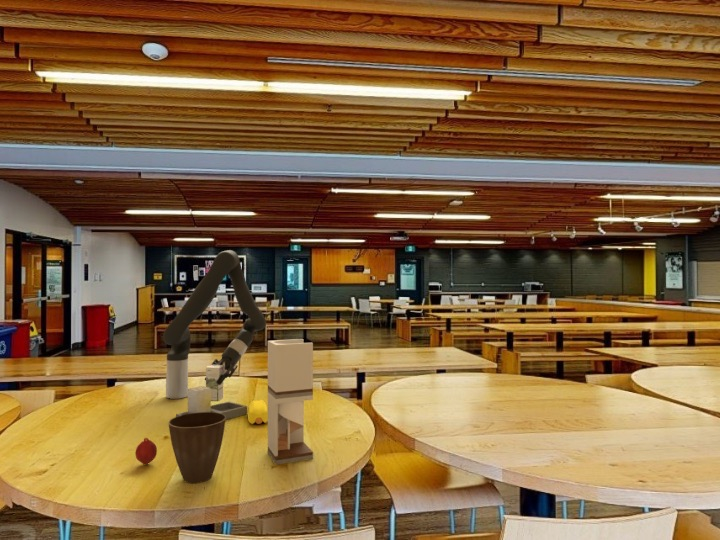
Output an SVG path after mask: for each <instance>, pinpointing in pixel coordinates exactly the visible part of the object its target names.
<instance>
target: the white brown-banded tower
mask: <svg viewBox="0 0 720 540" xmlns="http://www.w3.org/2000/svg"><path fill="white" fill-rule="evenodd" d="M313 400H314V343H313V342H304V339H303V338H293V339H277V340H276V339H275V340H267V410H268V421H267V453H268V456H269V457H270V458H271V460H272V462H273V463H274V465H276V464H277V465H282V464H287V463H288V464H289V463H296V462H301V460H302V461H308V460H313V459H314V452H313V450H312V449H311V448H310V447H309V446H308V445H307V444H306V442H305V441H304V438H305V437H304V436H305V434H304V433H305V432H304V427H305V426H304V424H305V423H304V419H305V418H304V410H305V409H304V406H305V405H304V402H306V401H313ZM307 459H308V460H307Z"/></svg>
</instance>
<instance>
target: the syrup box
mask: <svg viewBox="0 0 720 540" xmlns="http://www.w3.org/2000/svg"><path fill="white" fill-rule="evenodd" d="M222 367H223V365H211V364H209V365H207V366H206V367H205V377H206V381H205V387H208V388H211V402H220V401H221V400H223V399H224V381H223V382H222V383H221V385H218V384H217V383H216V381H217V380H218V379H219V377H220V376H221V375H222V372H223V371H222Z"/></svg>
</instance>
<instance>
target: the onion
mask: <svg viewBox="0 0 720 540" xmlns="http://www.w3.org/2000/svg"><path fill="white" fill-rule="evenodd" d="M157 453H158V449H157V445H156V444H155V443H154V442H153V441H152V440H151V439H149V438H148V437H144V438H143V440H142V441H141V442H140V443H138V445H137V446H136V449H135V458H136V459H137V461H138V462H140V463H142V464H143V465H144V464H147V465H149V464H150V463H152V462H153V460H154V459H155V458H156V456H157ZM148 463H149V464H148Z"/></svg>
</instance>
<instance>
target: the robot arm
mask: <svg viewBox="0 0 720 540" xmlns="http://www.w3.org/2000/svg"><path fill="white" fill-rule="evenodd" d="M243 272H244V271H243V269H242V266H241V261H240V257H239V255H238V254H237V252H236V251H234V250H231V249H229V250H228V249H227V250H224V251H223V250H222V251H221V252H219V253H218V254H217V255H216V256H215V258H214V261H213V262H212V264H211V265H210V268H209V269H208V271H207V273H206V274H205V276H203V278H202V279H201V281H200V282H199V283H198V285H197V286H196V287H195V288H194V290H193V291H192V293H191V294H190V295H189V297H188V299H187V300H186V301H185V303H184V304H183V306H182V307H181V309H180V310H179V312H178V314H177V315H176V316H175V317H174V319H172V321H171V322H169V323H170V324H168V326H166V328H165V330H164V331H163V337H162V338H163V341H164V343H165V344H166V345H168V346H171V349H170V350H169V351H168V352H167V354H166V376H165V397H166V399H169V398H170V399H171V400H176V399H177V400H178V399H183V398H184V399H185V398H188V389H189V354H190V351H191V331H190V328H189V327H190V325H191V324H192V323H193V322H194V321H195V320H196V319H197V318H198V317H200V315H202V314H203V313H205V311H206V310H207V309H208V307H209V306H210V305H211V303H212V302H213V301H214V298H215V297H216V294H217V292H218V289H219V287H220V285H221V283H222V281H223V280H224V279H225V278H226V276H227V275H228V276H229V278H230V281H231V284H232V287H233V292H234V296H235V298H236V301H237V304H238V306H239V309H240V311H241V312H242V313H243V314H244V315H247V317H248V318H247V319H246V320H245V322H243V324H242V326H241V329H240V331H239V332H238V333H237V335H236V336H235V337H234V339H233V340H232V341H231V342H230V343H229V344H228V346H227V347H226V348H225V349H224V351H223V353H222V354H221V359H220V360H218V359H217V358H216V359H214V361H213V362H212V363H211V364H210V365H223V367H222V371H223V372H222V375H221V376H220V377H219V379H218V380H217V381H216V383H217V384H218V385H221V383H222V382H223V383H224V381H225V380H226V379H227V378H231V377H232V376H233V375H234V373H235V372H236V370H237V369H238V365H237V364H238V362H239V361H240V360H241V358H243V356H244V354H245V353H246V352H247V349H248V348H249V346H250V345H251V343H252V342H253V340H254V335H255V333H256V332H259V331H262V330H264V329H265V328H266V325H267V321H266V317H265V315H264V314H263V312H262V311H261V309H260V308H259V307H258V306H257V304H256V302H255V299H254V297H253V295H252V293H251V291H250V288H249V286H248V284H247V281H246V278H245V276H244V273H243ZM204 380H205V382H206V376H205V377H204Z"/></svg>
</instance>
